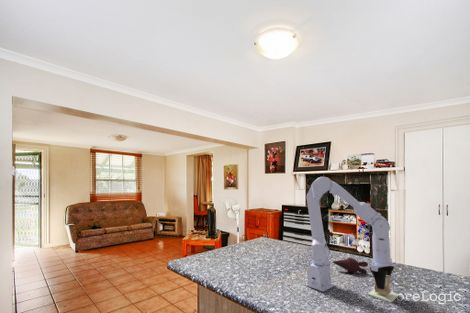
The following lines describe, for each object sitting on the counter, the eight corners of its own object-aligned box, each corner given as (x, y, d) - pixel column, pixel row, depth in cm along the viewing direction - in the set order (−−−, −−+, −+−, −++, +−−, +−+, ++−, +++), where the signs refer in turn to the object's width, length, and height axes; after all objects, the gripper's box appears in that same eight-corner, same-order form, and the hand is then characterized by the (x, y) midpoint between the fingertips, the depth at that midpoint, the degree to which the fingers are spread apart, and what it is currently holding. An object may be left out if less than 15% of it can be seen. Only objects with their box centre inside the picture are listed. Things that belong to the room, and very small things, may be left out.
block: (386, 295, 93) (385, 278, 94) (374, 291, 96) (374, 275, 97) (390, 292, 96) (389, 275, 96) (379, 288, 99) (378, 272, 99)
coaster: (391, 303, 90) (391, 301, 90) (367, 295, 96) (367, 293, 96) (399, 296, 95) (399, 294, 95) (376, 289, 101) (376, 287, 101)
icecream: (333, 259, 119) (369, 266, 114) (333, 251, 126) (367, 257, 121) (332, 273, 120) (368, 280, 115) (332, 264, 127) (365, 270, 122)
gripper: (385, 255, 90) (387, 296, 88) (399, 248, 99) (401, 285, 98) (364, 251, 95) (366, 289, 94) (380, 244, 104) (381, 279, 103)
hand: (382, 286), depth 96 cm, fingers closed on block, 4 cm apart
